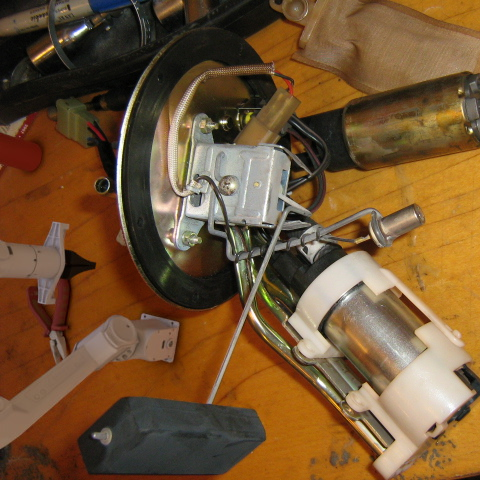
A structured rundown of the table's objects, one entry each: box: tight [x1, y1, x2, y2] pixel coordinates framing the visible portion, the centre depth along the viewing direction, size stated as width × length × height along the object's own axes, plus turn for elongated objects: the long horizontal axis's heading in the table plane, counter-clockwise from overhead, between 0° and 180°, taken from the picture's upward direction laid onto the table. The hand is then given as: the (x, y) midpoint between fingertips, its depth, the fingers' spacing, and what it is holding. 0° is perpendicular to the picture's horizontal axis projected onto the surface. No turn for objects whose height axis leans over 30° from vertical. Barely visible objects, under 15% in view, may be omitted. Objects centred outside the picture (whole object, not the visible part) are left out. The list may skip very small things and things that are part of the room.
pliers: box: [25, 279, 70, 365], centre depth 101 cm, size 12×20×3 cm, turn 20°
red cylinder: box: [0, 132, 43, 172], centre depth 106 cm, size 7×7×11 cm
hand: (92, 265), depth 89 cm, fingers closed
